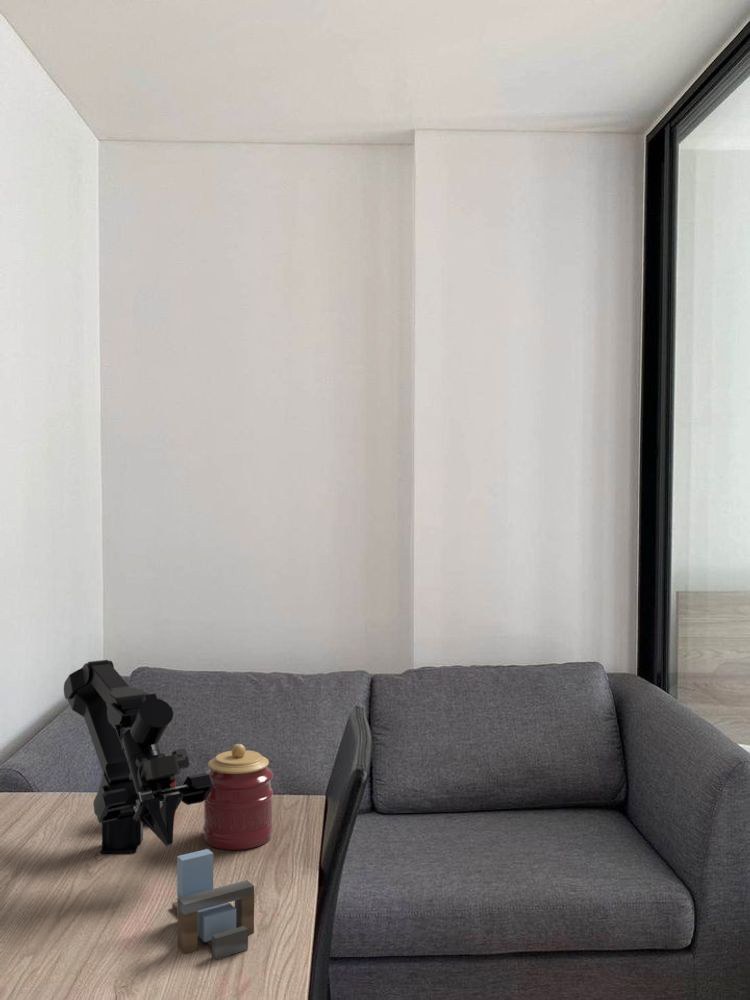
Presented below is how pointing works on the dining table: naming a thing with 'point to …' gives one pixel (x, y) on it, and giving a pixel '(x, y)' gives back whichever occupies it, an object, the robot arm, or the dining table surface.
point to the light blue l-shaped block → (199, 878)
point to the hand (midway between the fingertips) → (169, 844)
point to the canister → (238, 800)
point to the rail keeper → (191, 904)
